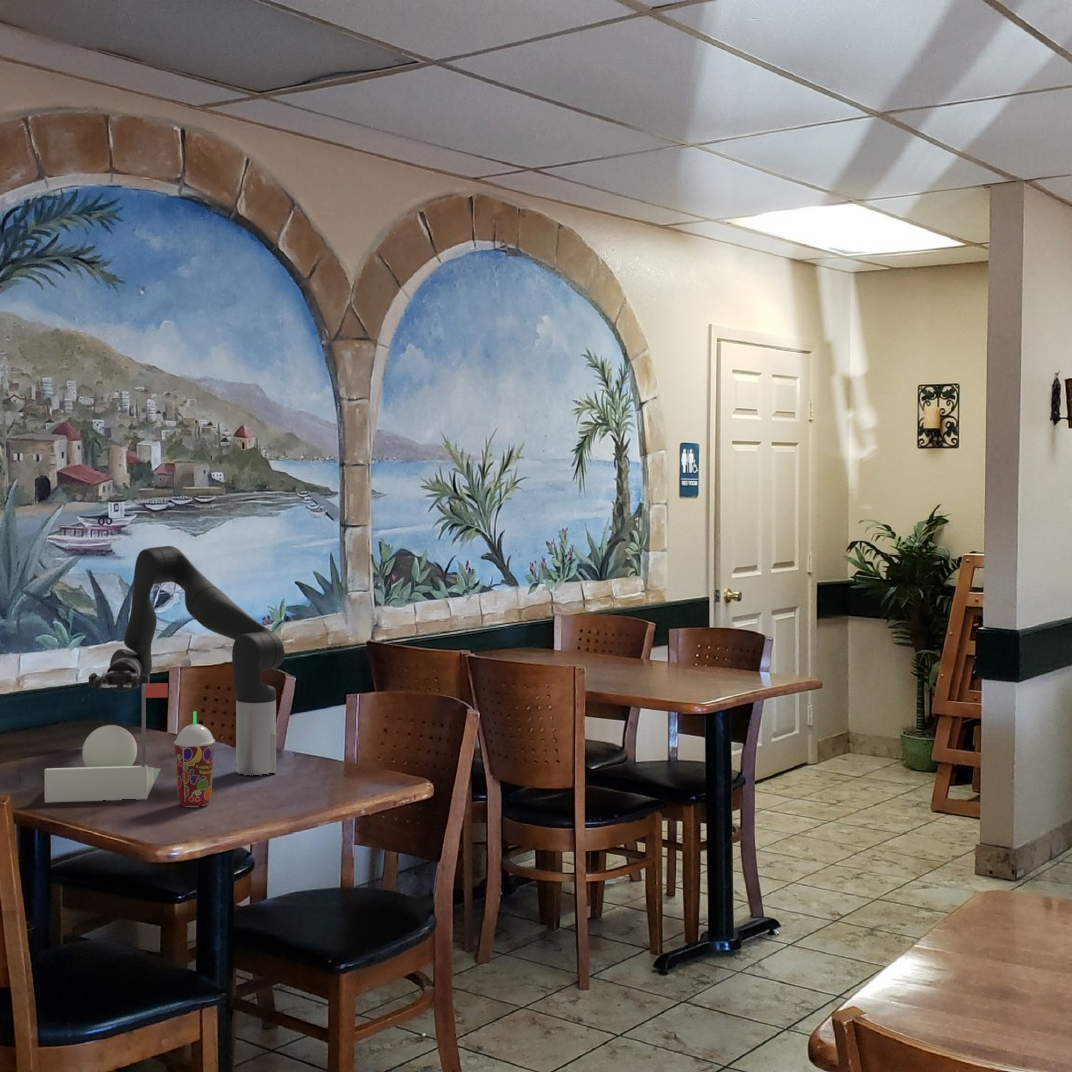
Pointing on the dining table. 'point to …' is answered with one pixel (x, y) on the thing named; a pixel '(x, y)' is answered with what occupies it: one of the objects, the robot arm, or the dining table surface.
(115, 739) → the ball
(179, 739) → the smoothie
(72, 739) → the dining table surface
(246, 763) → the robot arm
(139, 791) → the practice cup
